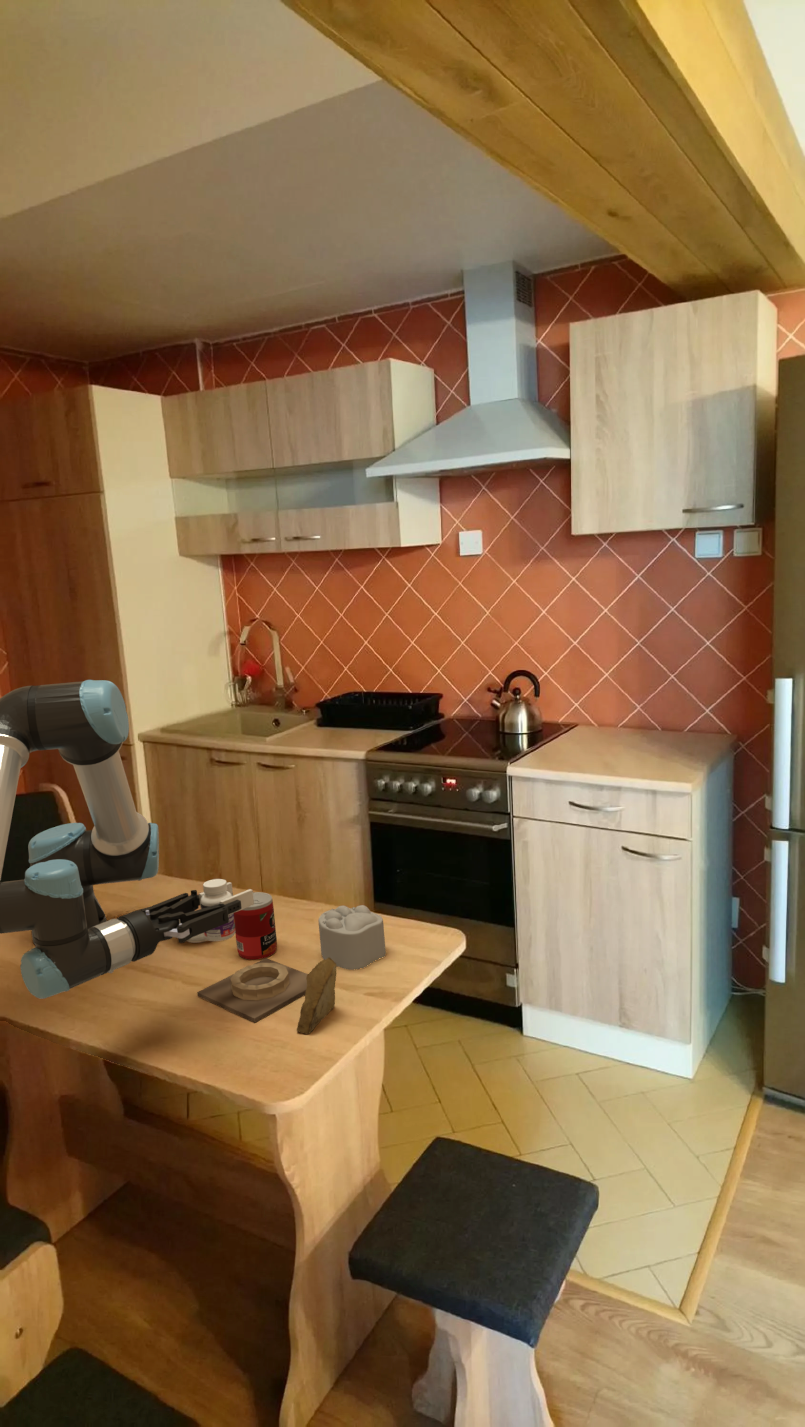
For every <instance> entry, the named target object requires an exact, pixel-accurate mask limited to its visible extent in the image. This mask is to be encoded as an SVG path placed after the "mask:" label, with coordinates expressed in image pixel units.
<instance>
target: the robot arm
mask: <svg viewBox="0 0 805 1427" xmlns="http://www.w3.org/2000/svg"><path fill="white" fill-rule="evenodd" d="M126 708H127V706H126V702H125V700H124V698H123V694H122V692H121V690H120V689H119V687H118V686H117V685H116V684H115V683H114V682H112V681H110V680H105V679H104V680H102V679H101V680H100V679H99V680H94V679H85V680H84V681H83V680H82V681H73V682H62V683H60V682H59V683H52V684H50V683H49V684H41V685H27V686H22V687H21V686H20V687H18V688H15V689H12V690H11V691H9V692H8V693H6V694H4V695H2V696H1V697H0V935H1V934H10V933H17V932H27V931H31V937H32V943H33V944H34V946H35V947H33V948H31V949H30V950H28V951H26V952H24V953H23V955H22V956H21V958H20V963H21V964H20V973H21V977H22V980H23V982H24V985H25V987H26V989H27V990H28V992H29V993H30V994H31V995H32V996H34V997H35V998H37V999H41V1000H42V999H48V998H50V997H52V996H53V997H54V996H56V995H59V994H60V993H64V992H66V993H67V992H69V991H70V990H71V989H73V988H75V987H77V986H80V985H82V984H85V983H86V982H90V981H91V980H93V979H96V978H98V977H100V976H104V975H105V974H113V973H114V971H115V970H117V969H119V968H123V967H124V966H127V965H129V964H130V963H131V962H132V963H135V962H137V961H139V960H141V959H144V958H147V957H149V956H151V955H152V954H154V952H155V951H156V950H157V949H156V948H157V946H158V944H159V943H160V942H165V941H168V940H172V938H177V939H178V943H179V944H183V943H186V942H188V941H187V940H189V939H190V938H192V937H194V936H197V935H199V934H202V933H204V932H206V931H209V930H211V929H214V928H216V927H219V926H221V925H224V924H226V923H228V922H229V916H228V915H230V914H232V913H235V912H237V911H240V910H242V909H244V908H247V907H249V906H252V905H254V898H253V891H254V890H253V889H251V888H248V889H247V890H244V891H241V892H238V893H236V894H233V893H234V892H233V891H234V890H233V883H232V882H230V881H229V882H226V883H227V890H226V891H228V892H230V893H231V895H232V896H231V897H229V898H226V899H224V900H221V901H219V902H220V904H218V905H214V906H210V907H207V908H203V909H199V910H196V909H198V908H199V905H200V908H201V898H202V896H203V895H204V894H205V893H204V891H201V892H202V893H200V894H199V895H197V893H198V890H197V889H191V890H190V894H191V895H190V896H188V894H189V893H187V892H183V893H180V894H178V895H177V896H173V897H171V898H169V899H166V900H164V901H161V902H157V904H153V905H151V906H148V907H144V908H140V909H137V910H133V911H131V912H128V913H126V914H123V915H120V916H118V917H117V918H111V919H109V920H107V917H106V914H105V911H104V910H103V908H102V906H101V903H100V901H99V900H98V899H97V897H96V894H95V892H94V891H95V890H94V886H96V885H105V884H115V883H124V882H134V881H142V880H145V879H151V878H154V877H156V876H157V874H158V873H159V864H160V863H159V862H160V861H159V860H160V859H159V858H160V832H159V825H158V824H157V823H153V822H148V820H147V819H146V818H145V816H144V815H143V814H141V813H140V812H138V811H137V808H136V805H135V802H134V798H133V795H132V792H131V788H130V785H129V781H128V778H127V774H126V772H125V768H124V764H123V761H122V758H121V754H120V750H121V748H122V746H123V743H124V742H125V741H127V738H129V731H130V730H129V729H130V726H129V725H130V724H129V715H128V712H127V709H126ZM47 750H48V751H49V750H58V753H59V755H60V756H61V759H62V760H63V761H65V762H66V763H68V764H70V765H72V766H73V769H74V771H75V774H76V778H77V781H78V784H79V785H80V788H81V791H82V793H83V796H84V800H85V803H86V805H87V807H88V811H89V814H90V817H91V820H92V823H93V825H94V826H93V828H92V829H91V830H87V828H86V826H85V824H84V823H82V822H70V823H65V824H60V825H57V826H55V827H50V828H48V829H46V830H43V831H40V832H39V833H37V834H36V835H35V836H33V837H32V838H31V839H30V840H29V842H28V846H27V848H28V863H29V868H27V869H26V870H25V872H24V879H19V880H10V881H9V880H8V881H1V880H2V874H3V868H4V862H5V857H6V852H7V847H8V846H7V845H8V840H9V835H10V829H11V823H12V819H13V818H12V817H13V814H14V813H13V812H14V806H15V801H16V795H17V790H18V784H19V778H20V773H21V768H23V767H24V766H25V765H26V764H27V763H28V761H29V758H30V754H31V753H32V752H37V751H47ZM195 910H196V911H195ZM179 919H180V922H179Z"/></svg>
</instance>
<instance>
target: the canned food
mask: <svg viewBox="0 0 805 1427" xmlns="http://www.w3.org/2000/svg"><path fill="white" fill-rule="evenodd" d="M253 898H254V905H252V906H249V907H247V908H244V909H242V910H240V911H237V912H235V913H234V921H235V934H234V936H235V941H236V942H235V943H236V951H237V953H238V955H239V957H240V958H242V959H244V960H248V961H249V960H253V961H254V960H256V961H257V960H263V959H265V958H269V957H271V956H273V955H274V954H275V953H277V952H276V951H277V948H278V940H277V938H278V937H277V931H276V930H277V929H276V920H275V912H274V911H275V910H274V902H273V896H272V894H269V893H267V892H262V891H261V892H260V891H259V892H258V891H257V892H253Z"/></svg>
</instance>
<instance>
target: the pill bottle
mask: <svg viewBox="0 0 805 1427" xmlns="http://www.w3.org/2000/svg"><path fill="white" fill-rule="evenodd" d="M227 883H228V882H227V880H226V879H222V878H213V879H210V880H207V881H204V883H203V884H202V888H203V891H202V892H204V893H205V894H204V895H203V896H202V898H201V909H203V908H207V907H210V906H214V905H218V904H220V902H219V901H221V900H224V899H226V898H229V897H231V896H232V895H231V893H230V892H228V891H226V890H227ZM228 916H229V922H228V923H226V924H224V925H221V926H219V927H216V928H214V929H211V930H209V931H206V932H204V936H205V938H206V939H207V940H208V941H210V942H222V941H226V940H229V939H231V938H232V937H233V936H235V921H234V913H232V914H230V915H228Z"/></svg>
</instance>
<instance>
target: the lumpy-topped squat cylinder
mask: <svg viewBox="0 0 805 1427" xmlns="http://www.w3.org/2000/svg"><path fill="white" fill-rule="evenodd" d="M318 931H319V933H318V935H319V943H320V952H321V953H320V954H321V957H322V960H324V959H325V960H326V959H327V958H328V957H330V958H331V959H332V960H333V961H334V962H335V963H336V968H337V967H338V968H341V969H344V970H352V971H354V969H355V970H356V969H357V970H361V969H360V968H362V969H364V967H365V968H367V967H368V966H370V965H371V964H372V963H374V962H376V961H375V960H377V961H379V960H380V959H379V958H382V957H383V958H384V956H385V957H386V955H385V954H387V952H386V951H387V950H386V941H385V940H386V938H385V926H384V919H383V917H382V916H381V915H379V914H378V913H376V912H375V913H374V912H373V911H371V910H370V909H369V907H367V906H366V905H364V904H361V905H360V904H359V905H357V906H355V907H354V906H353V907H351V908H350V907H348V906H346V905H339V906H338V907H336V908H331V909H328V910H326V911H324V912H323V913H321V914H320V915H319V917H318ZM383 958H382V959H383ZM378 959H379V960H378ZM373 961H374V962H373ZM370 963H371V964H370ZM367 965H368V966H367Z"/></svg>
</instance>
